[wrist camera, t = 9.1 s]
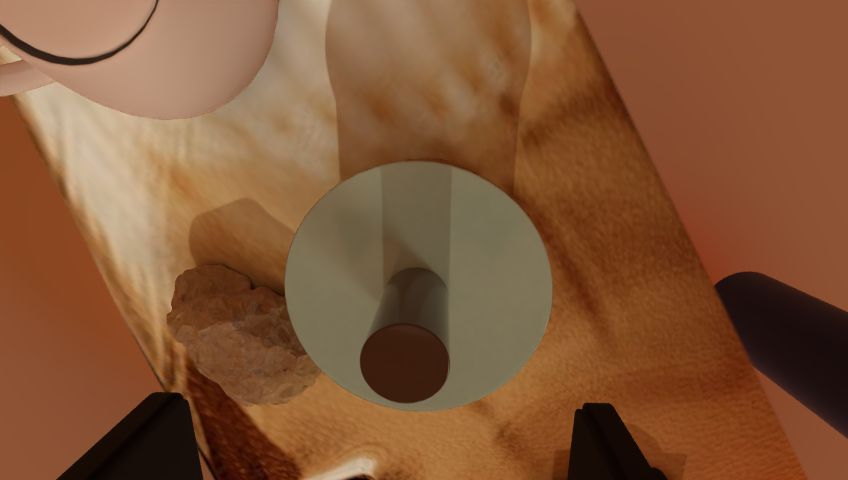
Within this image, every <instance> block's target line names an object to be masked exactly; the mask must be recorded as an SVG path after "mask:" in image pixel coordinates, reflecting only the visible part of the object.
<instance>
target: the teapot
mask: <svg viewBox="0 0 848 480" xmlns="http://www.w3.org/2000/svg"><path fill="white" fill-rule="evenodd" d="M277 17H278V0H0V46H1V45H2V44H3V45H4V46H5V47H7V48H8V49H9V50H10V51H12V52H13V53H14V54H16V55H17V56H19V57H20V58H21V59H23V60H20V61H16V62H12V63H7V64H3V65H0V96H7V95H12V94H17V93H21V92H25V91H29V90H32V89H36V88H39V87H42V86H45V85H48V84H51V83H53V82H56V81H57V82H59V83H60V84H62V85H64V86H66V87H67V88H69V89H71V90H73V91H75V92H76V93H78V94H80V95H82V96H84V97H86V98H88V99H89V100H91V101H93V102H96V103H98V104H100V105H103V106H106V107H109V108H112V109H115V110H117V111H120V112H123V113H126V114H130V115H133V116H139V117H146V118H153V119H161V120H172V119H186V118H192V117H195V116H199V115H202V114H205V113H208V112H212V111H214V110H216V109H217V108H219V107H221V106H223V105H224V104H226V103H228V102H230V101H231V100H233V99H234V98H235V97H236V96H237V95H238V94H239V93H240V92H241V91H242V90H244V89H245V88H246V87H247V86H248V85H249V84H250V83H251V81H252V80H253V78H254V77H255V76H256V74H257V73H258V71H259V70H260V68H261V67H262V65H263V64H264V62H265V59H266V57H267V54H268V52H269V50H270V47H271V45H272V42H273V38H274V33H275V28H276V23H277Z"/></svg>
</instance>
